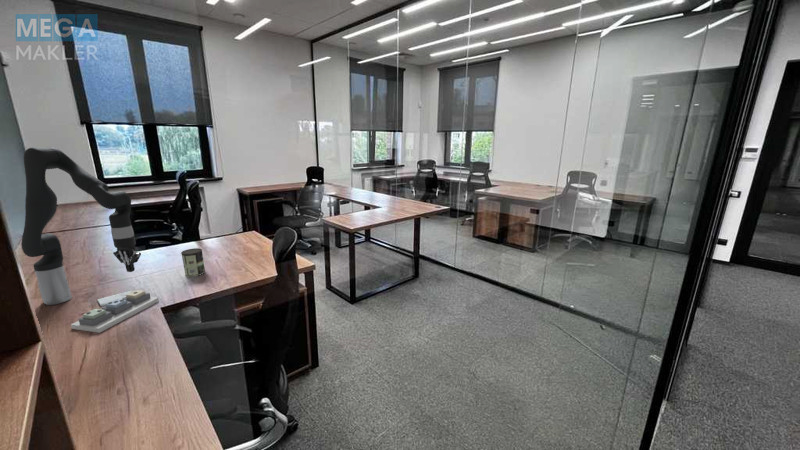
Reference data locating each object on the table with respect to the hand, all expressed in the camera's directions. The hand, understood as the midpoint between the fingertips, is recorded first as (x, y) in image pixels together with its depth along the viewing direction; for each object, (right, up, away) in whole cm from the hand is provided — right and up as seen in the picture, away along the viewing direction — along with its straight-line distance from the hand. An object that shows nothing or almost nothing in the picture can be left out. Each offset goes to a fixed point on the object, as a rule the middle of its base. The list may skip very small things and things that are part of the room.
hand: (130, 271), depth 148 cm
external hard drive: (-15, -16, +9) cm, 23 cm away
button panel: (-2, -19, -4) cm, 19 cm away
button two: (-3, -18, -14) cm, 23 cm away
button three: (-2, -15, -5) cm, 16 cm away
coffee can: (+4, -7, +40) cm, 41 cm away
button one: (0, -13, +3) cm, 14 cm away
